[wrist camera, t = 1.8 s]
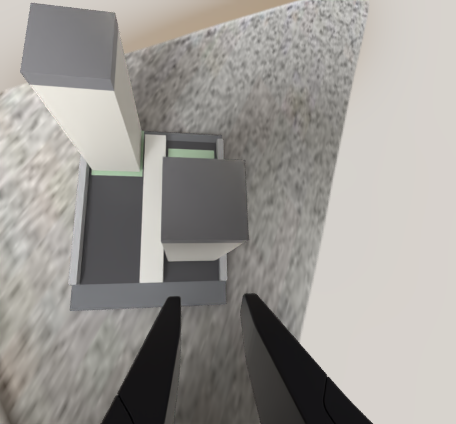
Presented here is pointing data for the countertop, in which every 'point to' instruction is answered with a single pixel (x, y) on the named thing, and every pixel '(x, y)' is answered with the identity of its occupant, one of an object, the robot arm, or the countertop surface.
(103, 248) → the switch board
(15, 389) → the countertop surface
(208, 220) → the tab
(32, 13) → the tab
